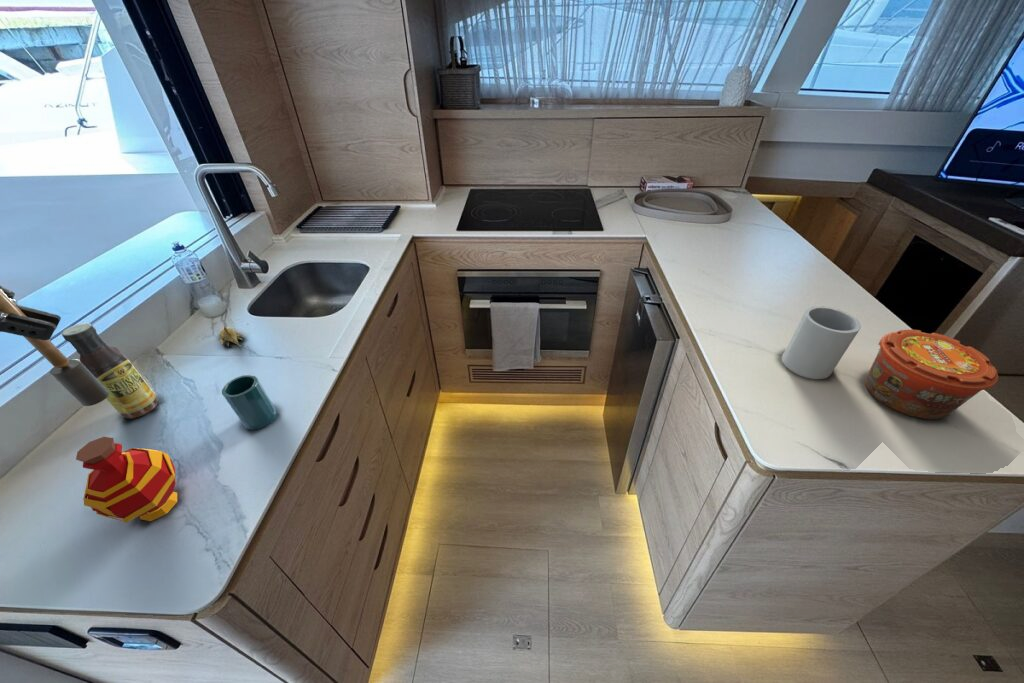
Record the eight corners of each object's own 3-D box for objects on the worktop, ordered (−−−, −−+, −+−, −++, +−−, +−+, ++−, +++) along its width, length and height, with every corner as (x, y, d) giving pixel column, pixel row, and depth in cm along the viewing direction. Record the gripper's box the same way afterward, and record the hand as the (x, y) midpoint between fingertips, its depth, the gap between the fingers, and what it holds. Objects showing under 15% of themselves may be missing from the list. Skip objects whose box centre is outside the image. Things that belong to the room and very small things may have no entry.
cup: (777, 348, 89) (799, 303, 82) (823, 354, 87) (850, 309, 80) (787, 375, 82) (813, 329, 75) (837, 382, 80) (868, 335, 73)
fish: (237, 330, 102) (227, 314, 99) (255, 347, 94) (245, 330, 91) (216, 339, 99) (205, 322, 96) (233, 357, 91) (222, 340, 88)
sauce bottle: (138, 423, 77) (63, 344, 65) (115, 416, 79) (38, 338, 66) (169, 399, 82) (105, 322, 70) (147, 394, 84) (81, 317, 71)
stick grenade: (107, 400, 55) (-29, 260, 41) (79, 409, 54) (-70, 267, 40) (111, 387, 57) (-17, 250, 43) (85, 395, 56) (-56, 256, 42)
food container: (835, 371, 83) (862, 330, 76) (907, 364, 84) (939, 324, 77) (901, 431, 70) (939, 388, 64) (984, 423, 71) (1031, 380, 64)
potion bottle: (208, 495, 64) (153, 437, 55) (135, 550, 58) (59, 496, 48) (178, 466, 69) (123, 408, 60) (107, 514, 62) (32, 458, 53)
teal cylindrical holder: (278, 422, 76) (258, 389, 71) (244, 434, 74) (221, 401, 69) (275, 403, 80) (256, 370, 75) (243, 414, 78) (221, 382, 73)
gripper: (-266, 260, 31) (51, 332, 44) (-154, 209, 41) (81, 281, 53) (-289, 334, 33) (25, 384, 45) (-175, 269, 42) (59, 325, 54)
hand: (54, 328), depth 49 cm, fingers closed on stick grenade, 1 cm apart
